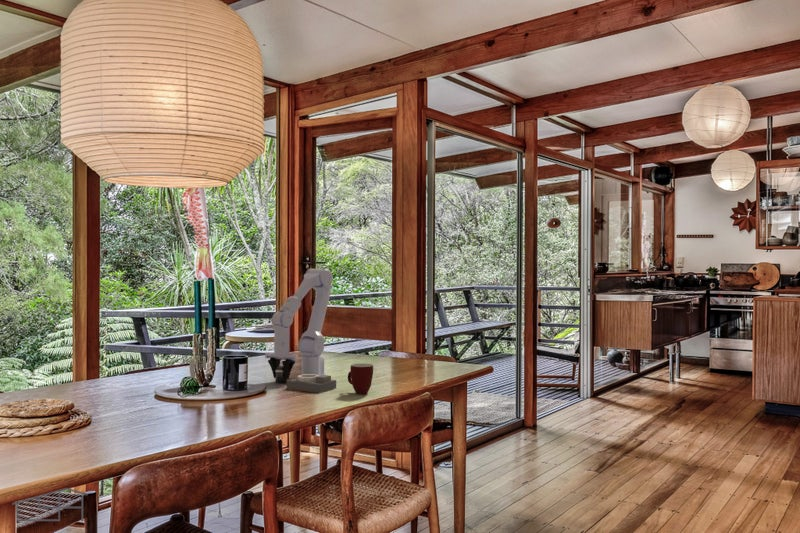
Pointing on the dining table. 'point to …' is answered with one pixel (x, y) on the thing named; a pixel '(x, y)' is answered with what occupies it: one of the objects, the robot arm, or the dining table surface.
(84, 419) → the dining table surface
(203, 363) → the cup
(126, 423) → the dining table surface
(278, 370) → the lens
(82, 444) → the dining table surface
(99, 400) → the dining table surface
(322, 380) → the camera body
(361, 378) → the mug
